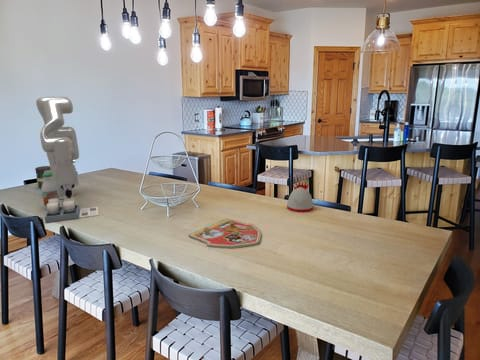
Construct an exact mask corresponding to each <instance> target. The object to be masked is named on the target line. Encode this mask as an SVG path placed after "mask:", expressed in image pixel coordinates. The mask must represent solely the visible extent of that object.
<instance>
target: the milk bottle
mask: <svg viewBox="0 0 480 360" xmlns="http://www.w3.org/2000/svg"><path fill="white" fill-rule="evenodd" d="M43 178H44V181H43V185H42V190H41V194H42V201H43V207H44V210H45V211H47V204H48V203H49V202H48V200H49V199H53V198H59V196H58V190H57V187H56V184H55V183H54V181H53V179H52V173H44V174H43ZM59 207H61V205H60V206H59Z"/></svg>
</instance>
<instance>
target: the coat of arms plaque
mask: <svg viewBox="0 0 480 360" xmlns="http://www.w3.org/2000/svg"><path fill="white" fill-rule="evenodd" d="M187 236H188V238H190V239H193V240H196V241H198V242H199V243H200V242H201V243H202V244H204V245H206V247H208V248H215V249H216V248H217V249H239V248H240V249H242V248H247V247H248V248H249V247H254V246H258V245H259V244H260V243H261V239H262V231H261V230H260V229H259V228H258V227H257V226H256V225H255V224H254V223H247V222H243V221H239V220H235V219H232V218H228V217H227V218H223V219H222V220H219V221H217V222H215V223H211V225H208V226H205V227H203V228H201V229H198V230H196V231H194V232H192V233H189V234H188V235H187Z"/></svg>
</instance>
